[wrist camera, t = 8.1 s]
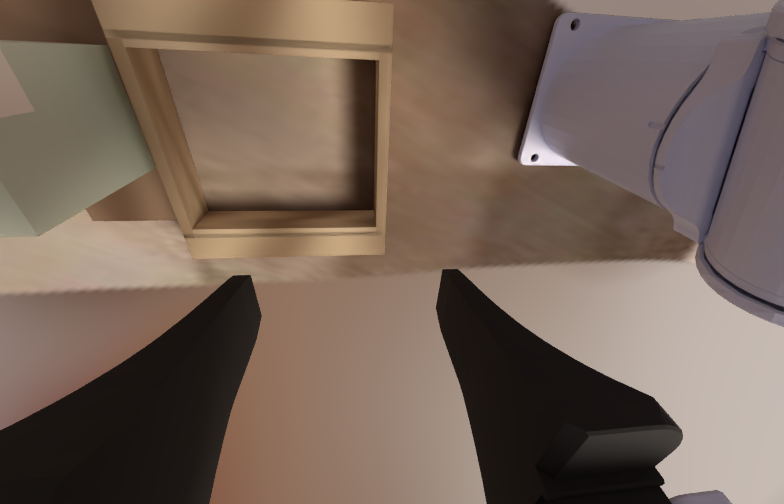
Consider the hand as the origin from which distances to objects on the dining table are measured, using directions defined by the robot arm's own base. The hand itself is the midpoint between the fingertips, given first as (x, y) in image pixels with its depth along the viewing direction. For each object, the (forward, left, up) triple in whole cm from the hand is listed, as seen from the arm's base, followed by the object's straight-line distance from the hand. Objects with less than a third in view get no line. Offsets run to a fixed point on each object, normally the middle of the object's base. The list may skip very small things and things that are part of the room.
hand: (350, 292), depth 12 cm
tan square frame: (+4, -3, -10) cm, 12 cm away
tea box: (+14, -4, -10) cm, 17 cm away
